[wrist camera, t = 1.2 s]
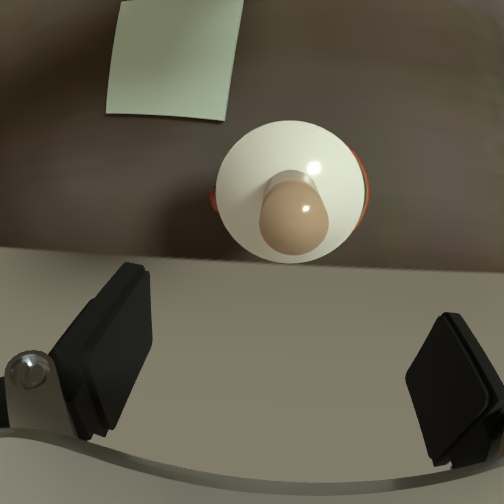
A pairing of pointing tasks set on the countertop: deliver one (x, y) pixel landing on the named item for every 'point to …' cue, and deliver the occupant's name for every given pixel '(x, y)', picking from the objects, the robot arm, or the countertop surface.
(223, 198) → the lid
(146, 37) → the mat
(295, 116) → the countertop surface
